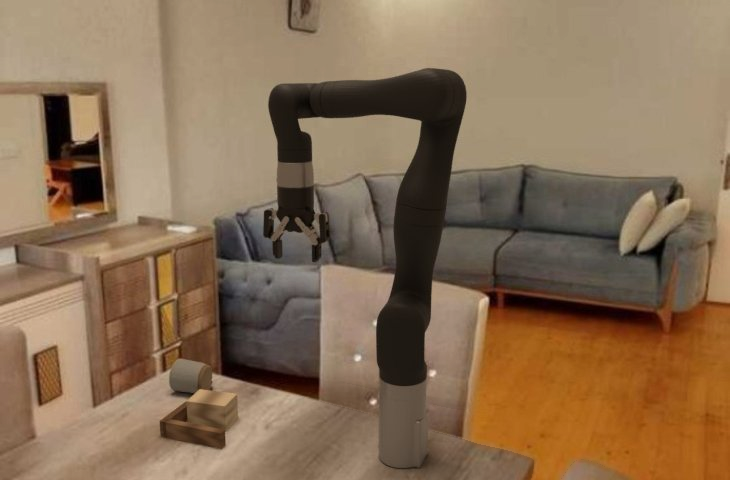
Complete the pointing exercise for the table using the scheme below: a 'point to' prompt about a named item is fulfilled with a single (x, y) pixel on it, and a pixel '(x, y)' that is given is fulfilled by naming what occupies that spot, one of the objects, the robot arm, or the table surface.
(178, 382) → the ceramic mug
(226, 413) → the oak block
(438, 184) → the robot arm
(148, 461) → the table surface
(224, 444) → the corner fence
